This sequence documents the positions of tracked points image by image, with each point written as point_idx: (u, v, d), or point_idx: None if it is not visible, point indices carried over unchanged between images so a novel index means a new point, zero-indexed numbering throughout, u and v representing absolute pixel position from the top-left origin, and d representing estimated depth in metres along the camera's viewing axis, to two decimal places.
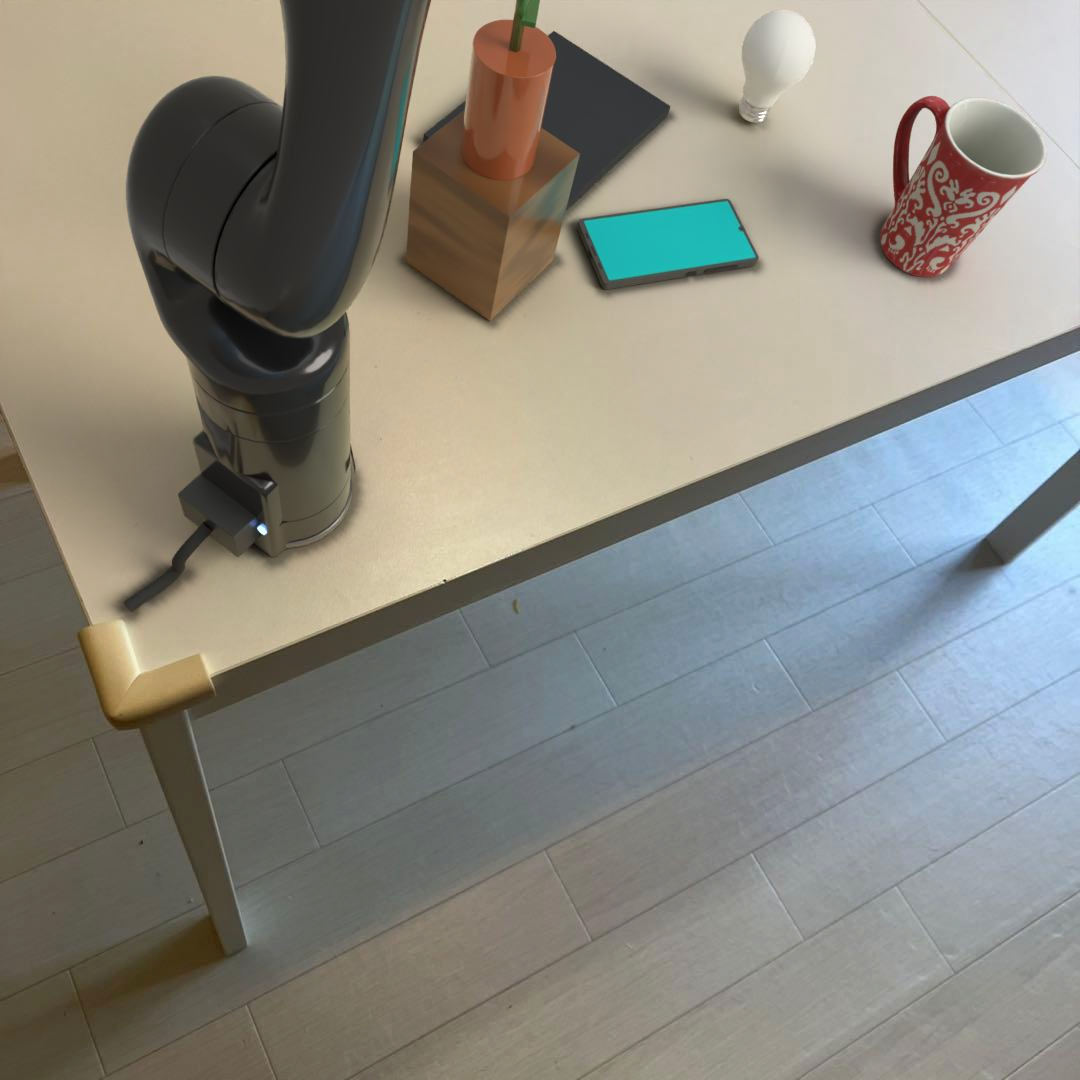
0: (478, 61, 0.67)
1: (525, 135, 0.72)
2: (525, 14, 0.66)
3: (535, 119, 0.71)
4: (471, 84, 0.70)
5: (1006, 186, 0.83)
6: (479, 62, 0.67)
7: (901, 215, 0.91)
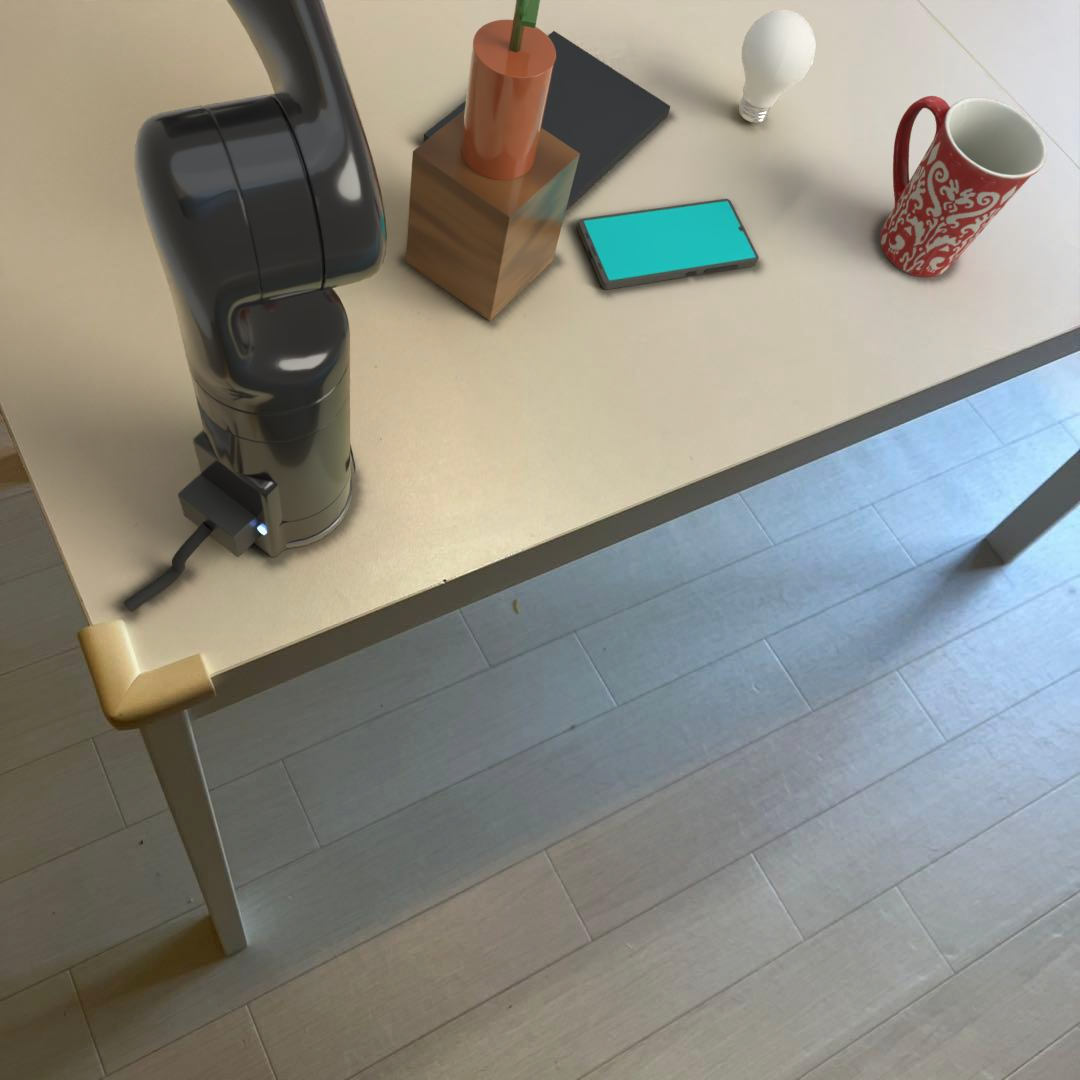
0: (478, 61, 0.67)
1: (525, 135, 0.72)
2: (525, 14, 0.66)
3: (535, 119, 0.71)
4: (471, 84, 0.70)
5: (1006, 186, 0.83)
6: (479, 62, 0.67)
7: (901, 215, 0.91)
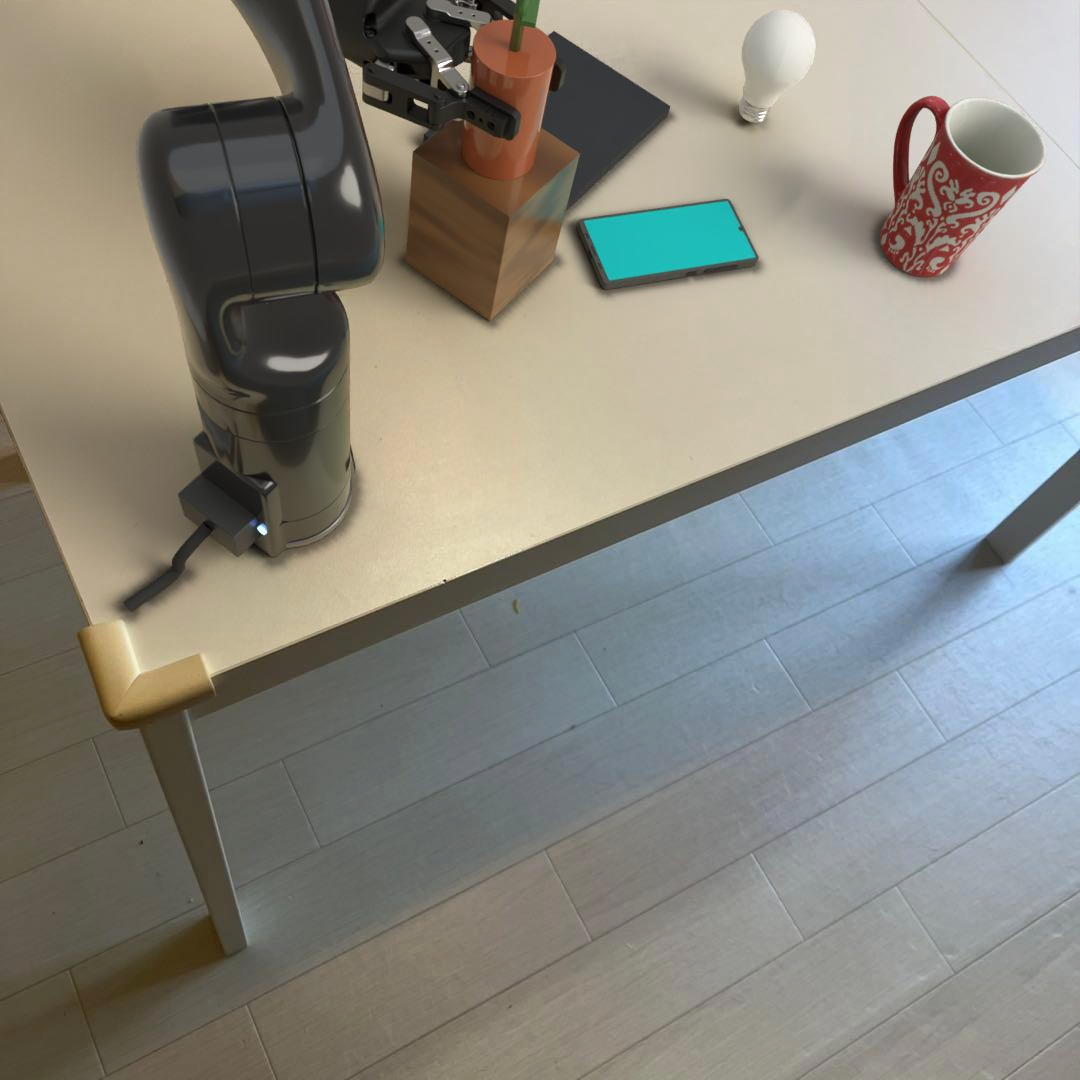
0: (478, 61, 0.67)
1: (525, 135, 0.72)
2: (525, 14, 0.66)
3: (535, 119, 0.71)
4: (471, 84, 0.70)
5: (1006, 186, 0.83)
6: (479, 62, 0.67)
7: (901, 215, 0.91)
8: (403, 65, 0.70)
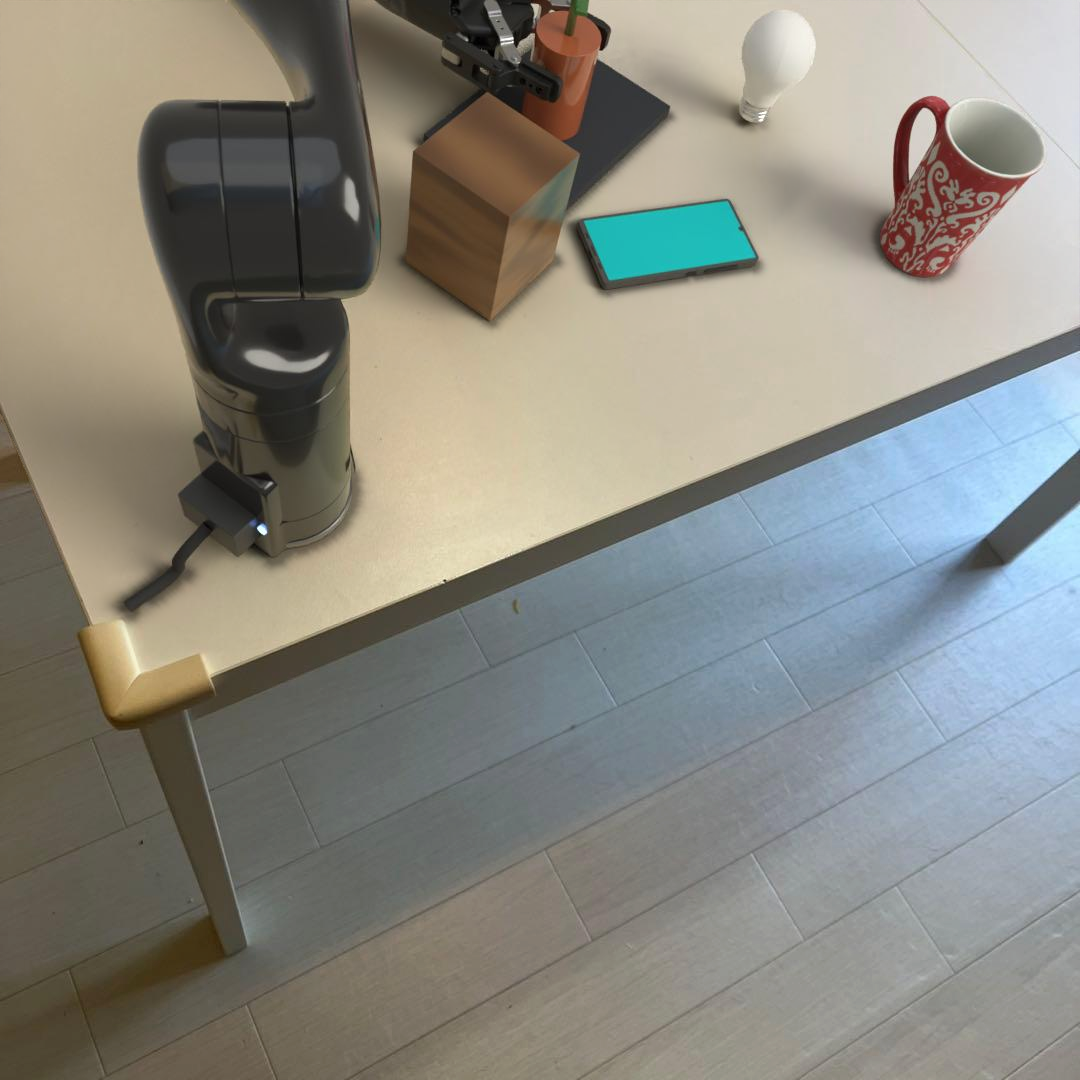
0: (540, 43, 0.85)
1: (575, 103, 0.90)
2: (578, 6, 0.83)
3: (583, 90, 0.89)
4: None
5: (1006, 186, 0.83)
6: (541, 44, 0.85)
7: (901, 215, 0.91)
8: (476, 37, 0.87)
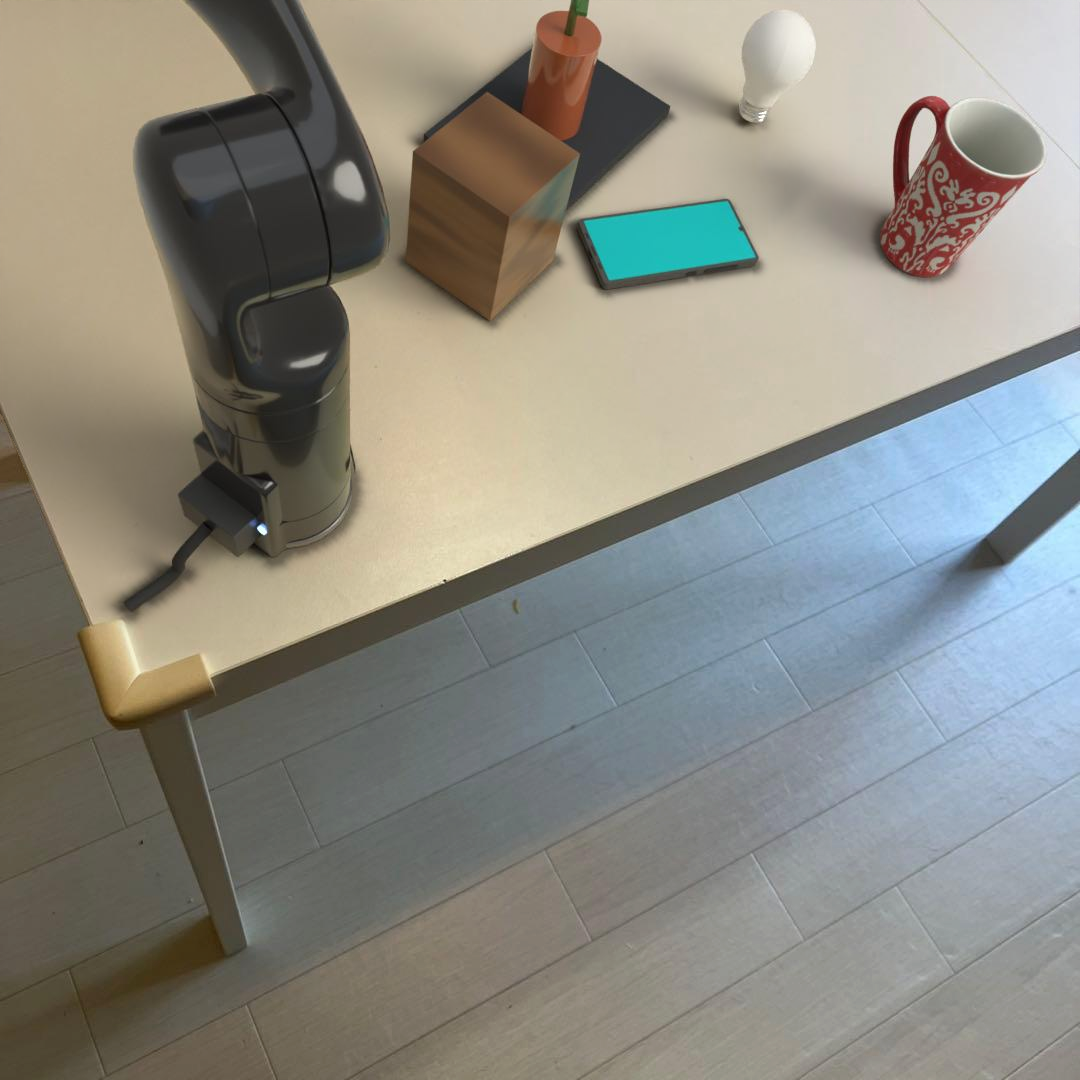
0: (540, 43, 0.85)
1: (575, 103, 0.90)
2: (578, 6, 0.83)
3: (583, 90, 0.89)
4: (533, 62, 0.87)
5: (1006, 186, 0.83)
6: (541, 44, 0.85)
7: (901, 215, 0.91)
8: None
